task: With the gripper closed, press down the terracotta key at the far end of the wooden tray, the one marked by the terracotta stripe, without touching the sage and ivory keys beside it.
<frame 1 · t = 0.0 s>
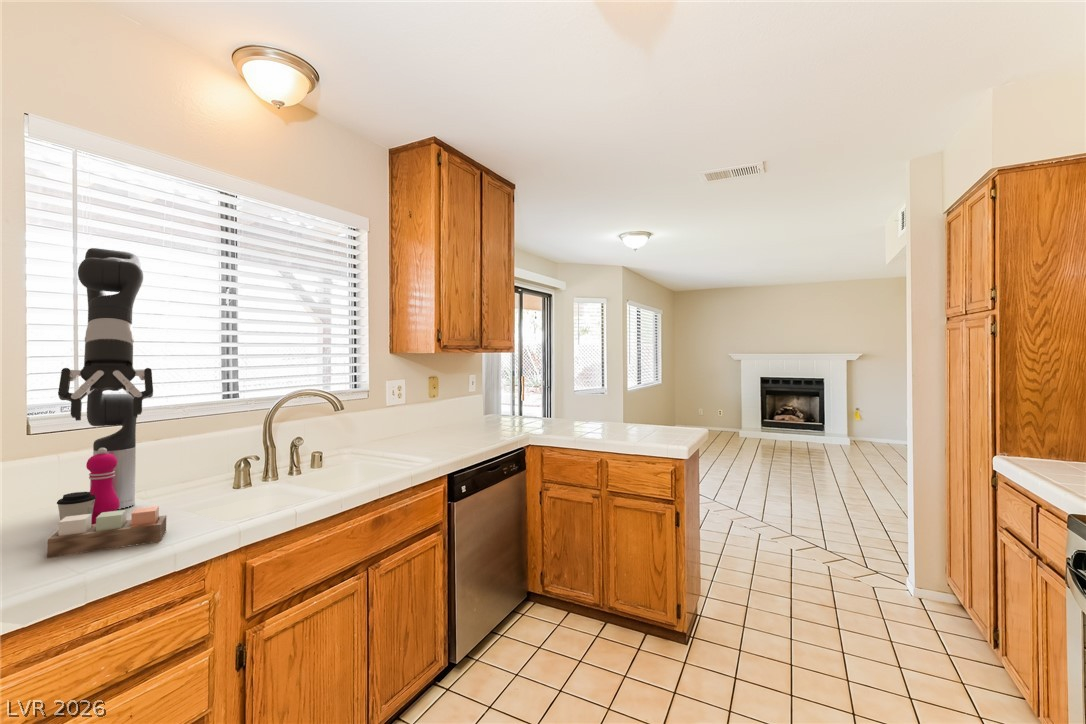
hand: (107, 418, 96), 31 cm above the table, tool tilted 20°, fingers open, 8 cm apart
sage key: (111, 523, 111), point 5 cm above the table, slide at 0.0 cm
wooden tray: (111, 543, 111), on the table
coffee cup: (76, 535, 116), on the table
terracotta key: (145, 519, 114), point 5 cm above the table, slide at 0.0 cm
pepper mill: (101, 524, 125), on the table
ivory key: (75, 527, 108), point 5 cm above the table, slide at 0.0 cm
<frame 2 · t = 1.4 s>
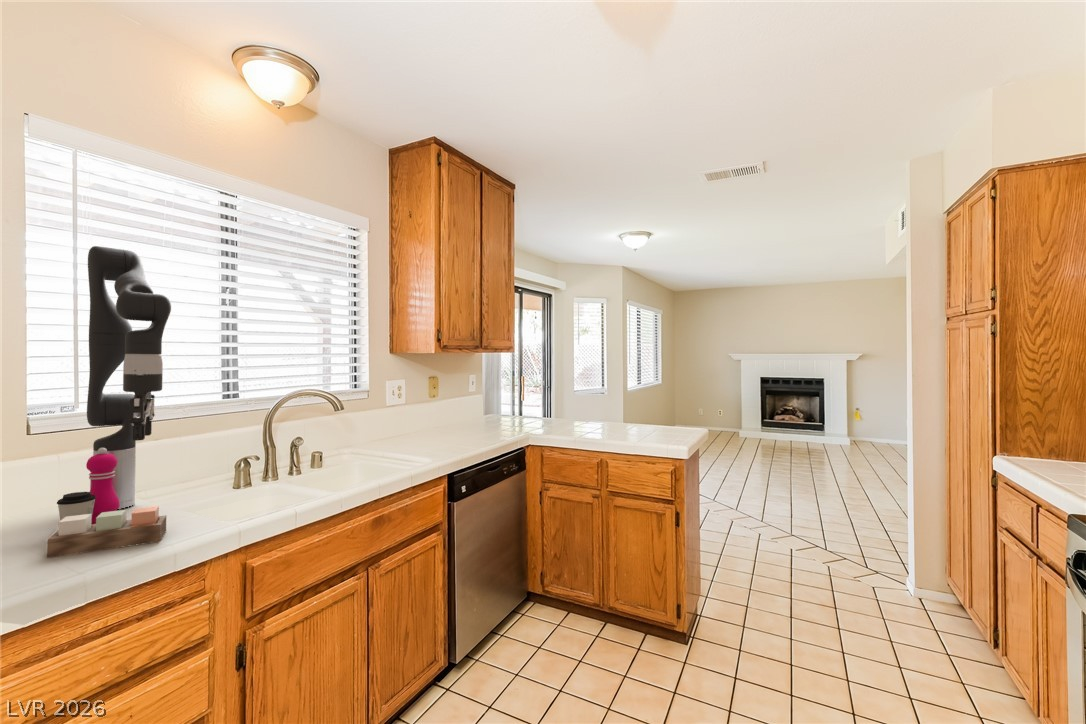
hand: (142, 437, 118), 24 cm above the table, tool pointing down, fingers open, 7 cm apart
nothing on the table moved.
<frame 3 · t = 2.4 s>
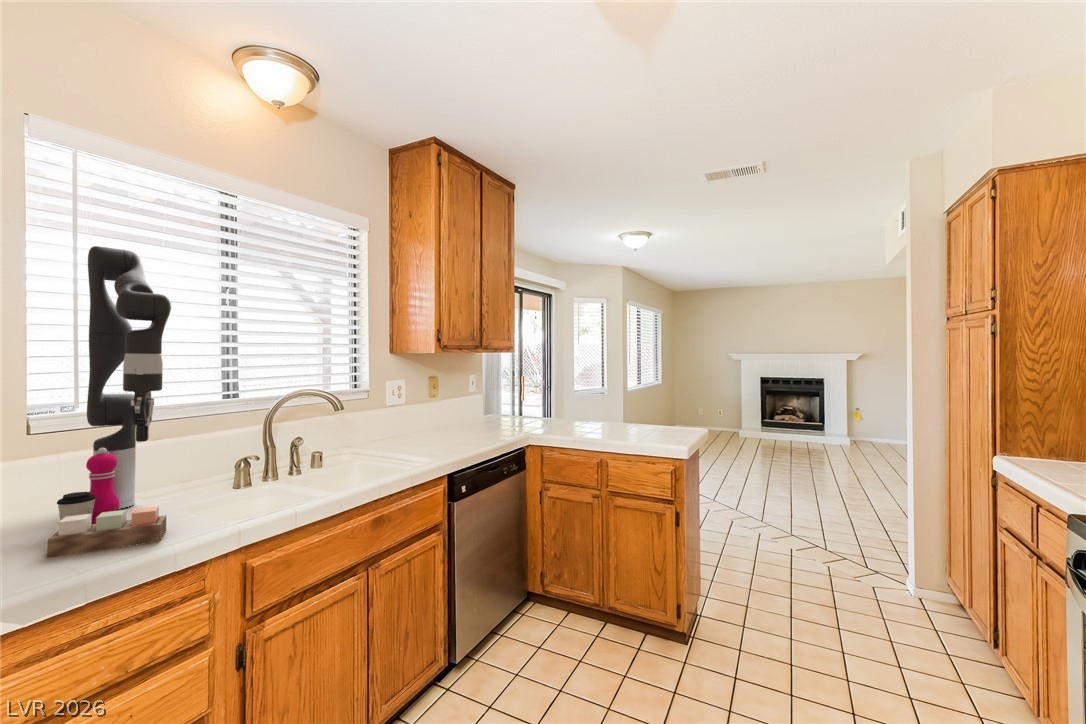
hand: (142, 441, 118), 23 cm above the table, tool pointing down, fingers closed
nothing on the table moved.
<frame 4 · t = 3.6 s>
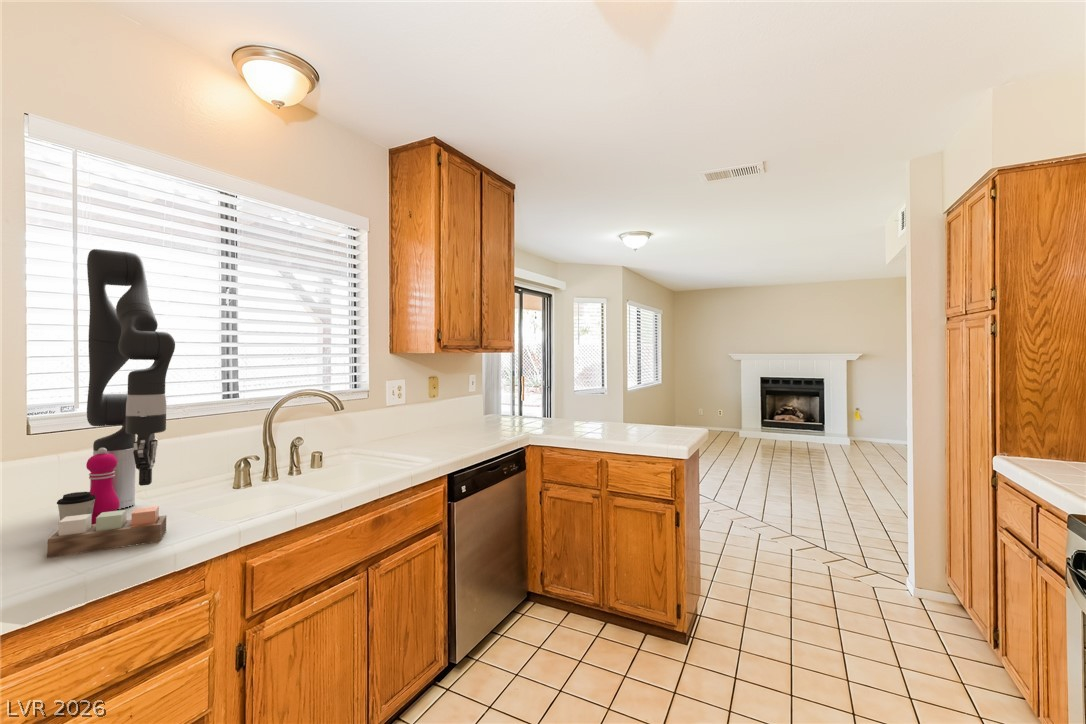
hand: (145, 484, 114), 13 cm above the table, tool pointing down, fingers closed
nothing on the table moved.
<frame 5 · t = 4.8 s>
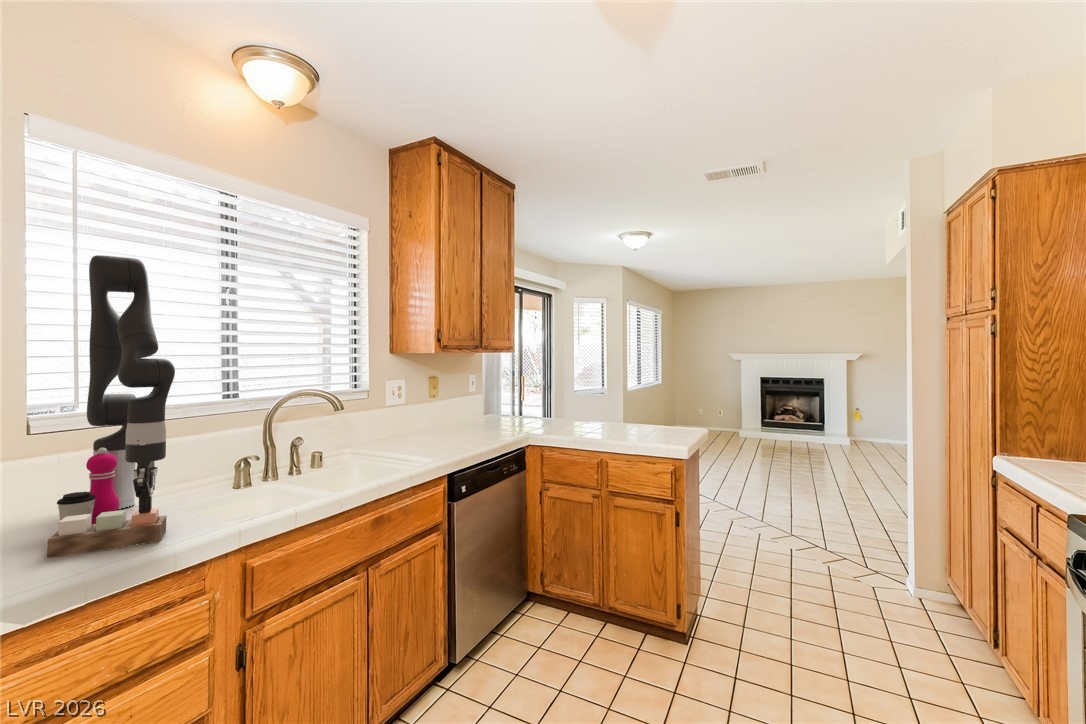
hand: (145, 512, 114), 6 cm above the table, tool pointing down, fingers closed
terracotta key: (145, 521, 114), point 4 cm above the table, slide at 0.6 cm, touching gripper
everything else where it was.
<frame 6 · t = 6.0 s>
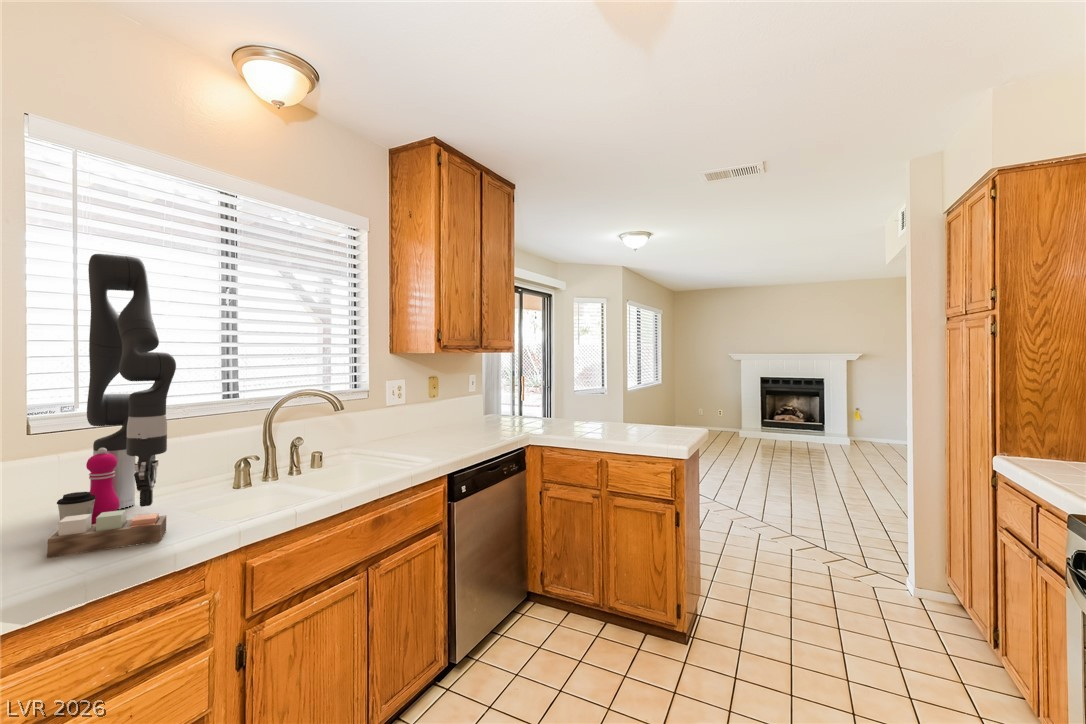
hand: (146, 505, 115), 8 cm above the table, tool pointing down, fingers closed
terracotta key: (145, 526, 114), point 3 cm above the table, slide at 1.8 cm
everything else where it was.
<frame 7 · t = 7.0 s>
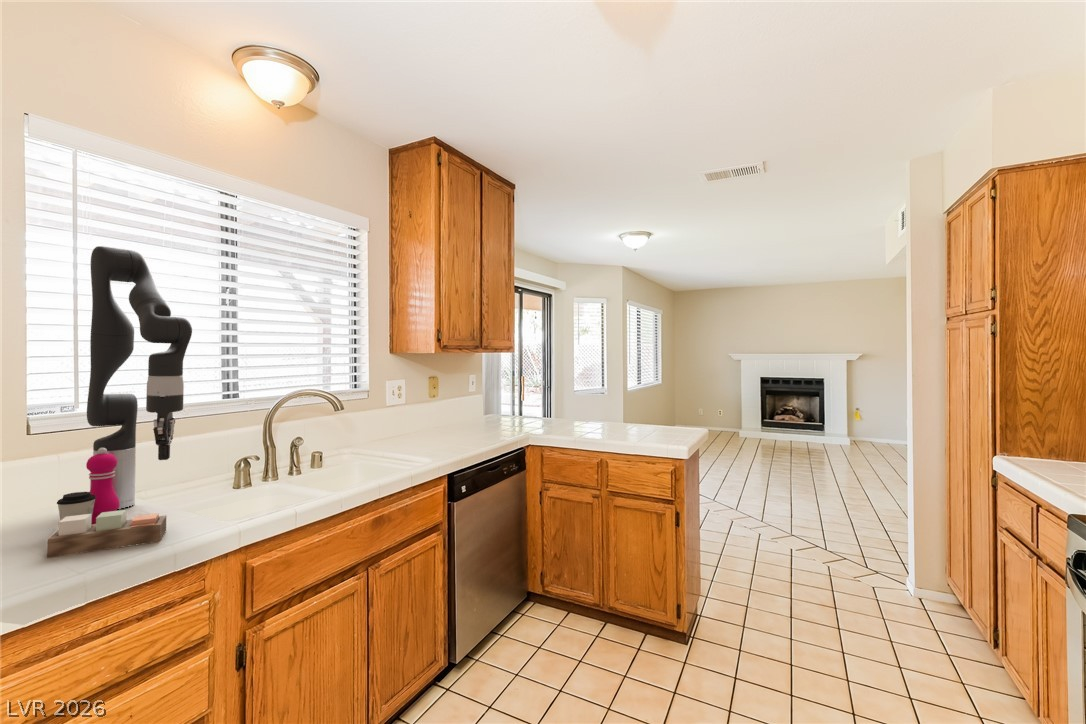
hand: (164, 459, 123), 17 cm above the table, tool pointing down, fingers closed
nothing on the table moved.
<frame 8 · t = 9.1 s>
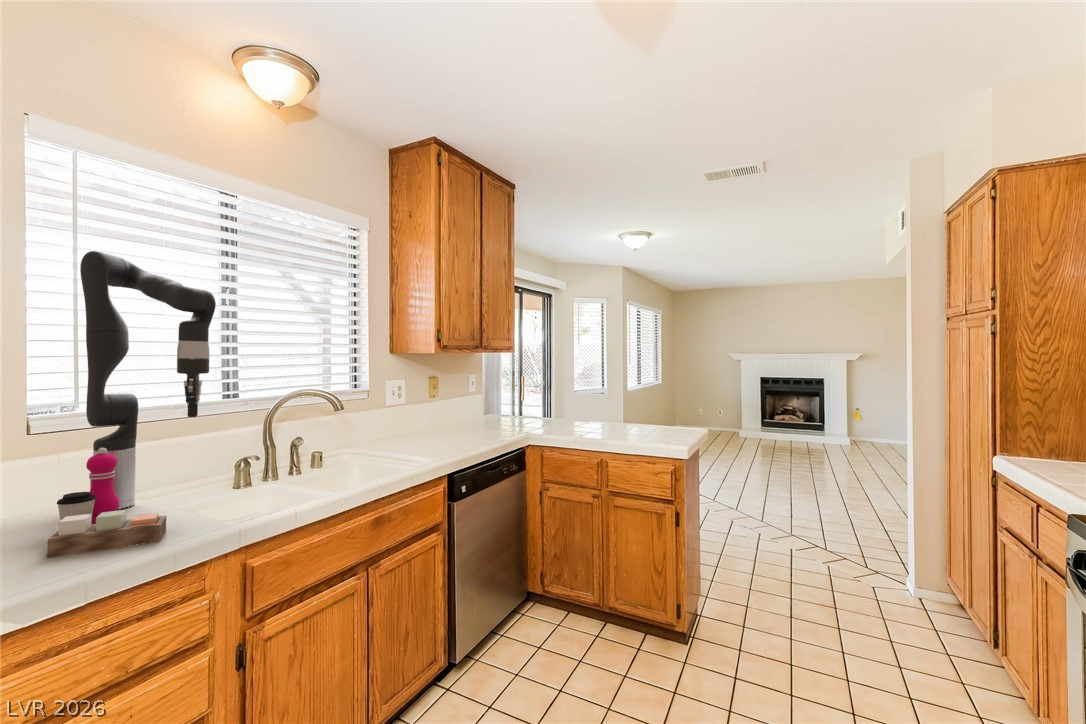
hand: (192, 416, 137), 27 cm above the table, tool pointing down, fingers closed
nothing on the table moved.
at the end: terracotta key slide at 1.8 cm; sage key slide at 0.0 cm; ivory key slide at 0.0 cm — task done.
